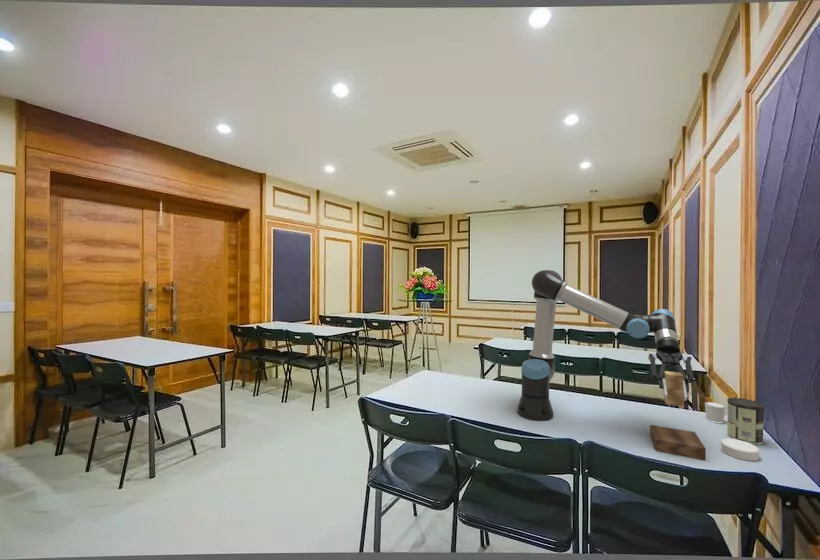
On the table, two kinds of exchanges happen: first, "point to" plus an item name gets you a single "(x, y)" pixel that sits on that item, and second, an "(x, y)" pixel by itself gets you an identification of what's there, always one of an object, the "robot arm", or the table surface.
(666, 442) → the walnut block
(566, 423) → the table surface
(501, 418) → the table surface
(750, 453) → the coaster
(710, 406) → the white tapered cup
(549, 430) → the table surface
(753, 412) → the coffee can
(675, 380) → the oak block
